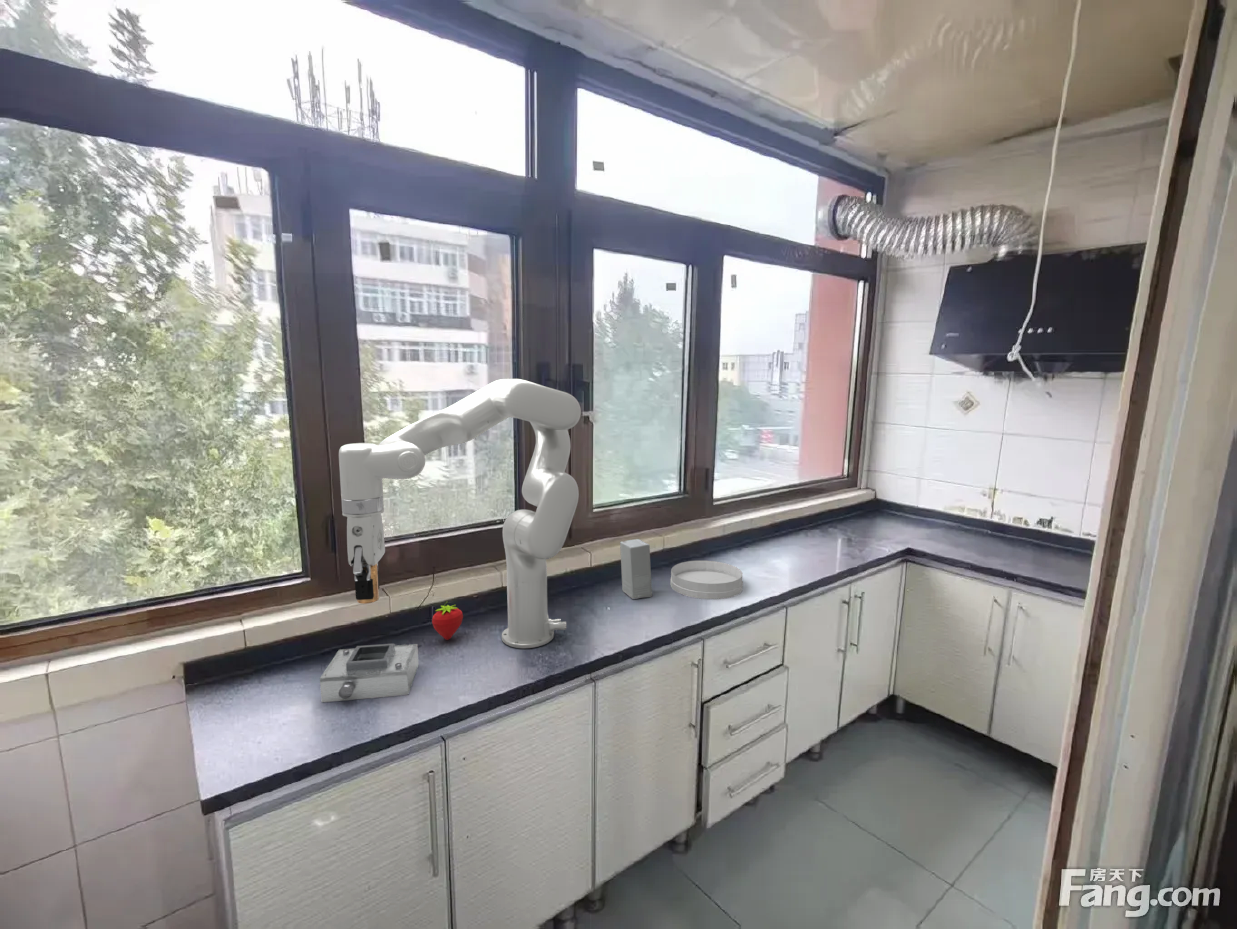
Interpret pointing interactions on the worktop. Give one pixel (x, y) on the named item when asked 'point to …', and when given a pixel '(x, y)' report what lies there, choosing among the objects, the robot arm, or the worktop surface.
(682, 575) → the dish
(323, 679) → the plate
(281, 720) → the worktop surface
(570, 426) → the robot arm
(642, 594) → the skincare box
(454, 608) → the strawberry
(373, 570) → the spout can
